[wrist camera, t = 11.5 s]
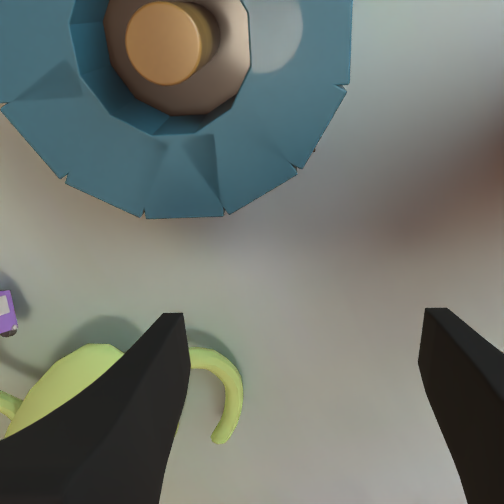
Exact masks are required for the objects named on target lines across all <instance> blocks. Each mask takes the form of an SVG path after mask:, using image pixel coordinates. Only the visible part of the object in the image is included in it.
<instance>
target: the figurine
mask: <svg viewBox="0 0 504 504" xmlns="http://www.w3.org/2000/svg"><path fill="white" fill-rule="evenodd" d="M17 328H18V324H17V320H16V315H15V310H14V306H13V301H12V297H11V292H10V290H6V291H0V335H1V336H2V337H9V336H13V335H14V334H15V333H16V332H17ZM189 354H190V361H191V369H195V368H200V369H207V370H209V371H210V372H212V373H213V374H215V375H216V376H217V377H218V378H219V379H220V380H221V381H222V382H223V384H224V386H225V395H226V399H225V406H224V411H223V414H222V417H221V420H220V422H219V423H218V425H217V426H216V428H215V430H214V431H213V433H212V435H211V439H212V442H214V443H216V444H223V443H225V442H226V441H227V440H228V439H229V438H230V436H231V435H232V433H233V431H234V429H235V428H236V426H237V424H238V420H239V417H240V414H241V410H242V402H243V387H242V379H241V376H240V374H239V372H238V370H237V368H236V367H235V366H234V365H233V364H232V363H231V362H230V361H229V360H228V359H227V358H226V357H224V356H223V355H221V354H220V353H218V352H216V351H215V350H213V349H207V348H200V347H190V348H189ZM123 355H124V353H123V352H121V351H120V350H118V349H117V348H115V347H113V346H112V345H110V344H86V345H84V346H82V347H81V348H79V349H77V350H76V351H74V352H72V353H70V354H69V355H67V356H65V357H64V358H62V359H60V360H58V361H57V362H55V364H54V365H53V366H52V367H51V368H50V369H49V370H48V371H47V372H46V373H45V374H44V375H43V377H42V378H41V379H40V380H39V381H38V382H37V383H36V384H35V385H34V386H33V387H32V388H31V390H30V391H29V392H28V394H27V396H26V397H25V399H24V401H22V400H20V399H18V398H16V397H14V396H12V395H9V394H7V393H5V392H3V391H1V390H0V412H1V413H3V414H4V415H6V416H7V417H8V418H9V419H10V420H11V423H10V425H9V426H8V429H7V432H6V435H5V437H4V439H5V438H7V437H9V436H11V435H13V434H14V433H16V432H18V431H20V430H22V429H24V428H25V427H27V426H29V425H31V424H32V423H34V422H36V421H38V420H39V419H41V418H43V417H44V416H46V415H47V414H49V413H50V412H52V411H53V410H55V409H56V408H58V407H59V406H61V405H63V404H64V403H66V402H67V401H69V400H70V399H72V398H73V397H74V396H76V395H77V394H78V393H80V392H81V391H82V390H84V389H85V388H86V387H88V386H89V385H90V384H92V383H93V382H94V381H95V380H96V379H98V378H99V377H100V376H101V375H102V374H104V373H105V372H106V371H107V370H108V369H109V368H110V367H111V366H112V365H113V364H114V363H115V362H117V361H118V360H119V359H120V358H121V357H122V356H123ZM178 427H179V423H178V426H177V430H176V433H177V431H178ZM176 433H175V435H176Z"/></svg>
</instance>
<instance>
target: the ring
mask: <svg viewBox="0 0 504 504" xmlns="http://www.w3.org/2000/svg"><path fill="white" fill-rule="evenodd" d="M240 1H241V3H242V5H243V7H244V8H245V10H246V12H247V16H248V34H249V52H250V67H249V69H248V72H247V74H246V76H245V78H244V80H243V82H242V84H241V87H240V89H239V91H238V93H237V94H236V95H234V96H233V97H231V98H230V99H229V100H227V101H226V102H224V103H223V104H221V105H220V106H218V107H217V108H215V109H214V110H213V111H211V112H210V113H208V114H205V115H185V116H169V115H167V114H165V113H163V112H161V111H159V110H157V109H155V108H153V107H151V106H149V105H147V104H145V103H143V102H141V101H139V100H137V99H135V97H134V96H133V95H132V93H131V92H130V91H129V89H128V88H127V86H126V85H125V84H124V82H123V81H122V80H121V78H120V77H119V76H118V74H117V73H116V72H115V70H114V69H113V67H112V66H111V63H110V58H109V53H108V47H107V42H106V37H105V31H104V26H103V19H104V16H105V12H106V9H107V6H108V3H109V0H0V103H7V104H5V105H4V106H3V107H2V108H1V109H0V111H1V112H2V113H3V114H4V115H5V117H6V118H7V119H8V120H9V121H10V122H11V124H12V125H13V126H14V127H15V128H16V129H17V130H18V132H19V133H20V134H21V135H22V136H23V137H24V139H25V140H26V141H27V142H28V143H29V144H30V145H31V147H32V148H33V149H34V150H35V151H36V152H37V154H38V155H39V156H40V157H41V158H42V159H43V160H44V162H45V163H46V164H47V165H48V166H49V167H50V169H51V170H52V171H53V172H54V173H55V174H56V175H57V177H58V178H59V179H62V178H63V177H64V176H66V175H67V174H68V175H67V178H66V182H65V183H66V184H67V185H69V186H72V187H74V188H76V189H78V190H80V191H82V192H85V193H87V194H89V195H91V196H93V197H96V198H98V199H100V200H102V201H104V202H106V203H109V204H111V205H113V206H115V207H117V208H119V209H122V210H124V211H126V212H128V213H130V214H132V215H135V216H137V217H139V218H140V217H141V216H142V215H143V213H144V212H145V217H146V219H167V218H198V217H223V216H224V213H225V210H226V212H227V213H228V214H229V215H230V214H232V213H234V212H235V211H237V210H239V209H240V208H242V207H244V206H245V205H247V204H249V203H250V202H252V201H254V200H255V199H257V198H259V197H261V196H262V195H264V194H266V193H267V192H269V191H271V190H272V189H274V188H276V187H277V186H279V185H281V184H282V183H284V182H286V181H287V180H289V179H291V178H292V177H294V176H296V175H297V167H298V168H300V169H303V168H304V166H305V164H306V162H307V161H308V159H309V157H310V155H311V154H312V152H313V150H314V148H315V147H316V145H317V143H318V142H319V140H320V138H321V136H322V135H323V133H324V131H325V129H326V128H327V126H328V124H329V123H330V121H331V119H332V117H333V116H334V114H335V112H336V110H337V109H338V107H339V105H340V104H341V102H342V100H343V98H344V97H345V95H346V93H347V91H346V90H345V89H344V87H343V86H342V85H348V84H349V83H350V59H351V32H352V6H353V0H240Z"/></svg>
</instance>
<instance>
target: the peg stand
mask: <svg viewBox="0 0 504 504" xmlns="http://www.w3.org/2000/svg"><path fill="white" fill-rule="evenodd" d="M103 26H104V31H105V37H106V42H107V47H108V53H109V58H110V63H111V66H112V67H113V69H114V70H115V72H116V73H117V74H118V76H119V77H120V78H121V80H122V81H123V82H124V84H125V85H126V86H127V88H128V89H129V91H130V92H131V93H132V95H133V96H134V97H135V99H137V100H139V101H141V102H143V103H145V104H147V105H149V106H151V107H153V108H155V109H157V110H159V111H161V112H163V113H165V114H167V115H169V116H185V115H205V114H208V113H210V112H211V111H213V110H214V109H215V108H217V107H218V106H220V105H221V104H223V103H224V102H226V101H227V100H229V99H230V98H231V97H233V96H234V95H236V94H237V93H238V91H239V89H240V87H241V84H242V82H243V80H244V78H245V76H246V74H247V72H248V69H249V67H250V52H249V34H248V16H247V12H246V10H245V8H244V7H243V5H242V3H241V1H240V0H109V3H108V6H107V9H106V12H105V16H104V19H103ZM313 152H315V148H314V150H313Z"/></svg>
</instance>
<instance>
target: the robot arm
mask: <svg viewBox="0 0 504 504" xmlns="http://www.w3.org/2000/svg"><path fill="white" fill-rule="evenodd" d="M418 365H419V369H420V373H421V377H422V381H423V385H424V388H425V392H426V395H427V397H428V400H429V402H430V405H431V407H432V410H433V412H434V415H435V417H436V419H437V422H438V424H439V427H440V429H441V431H442V434H443V436H444V439H445V441H446V443H447V446H448V448H449V451H450V453H451V455H452V458H453V460H454V463H455V465H456V468H457V471H458V474H459V476H460V479H461V483H462V486H463V489H464V493H465V496H466V499H467V503H468V504H504V354H503V353H502V352H501V351H499V350H498V349H497V348H496V347H494V346H493V345H492V344H491V343H489V342H488V341H487V340H485V339H484V338H483V337H482V336H481V335H479V334H478V333H477V332H476V331H474V330H473V329H472V328H471V327H470V326H468V325H467V324H466V323H465V322H464V321H462V320H461V319H460V318H459V317H458V316H456V315H455V314H454V313H453V312H452V311H450V310H449V309H448V308H425V313H424V321H423V328H422V335H421V343H420V350H419V357H418ZM190 369H191V361H190V354H189V348H188V342H187V335H186V329H185V323H184V316H183V313H163V314H162V315H161V316H160V317H159V318H158V319H157V320H156V321H155V322H154V323H153V324H152V326H151V327H150V328H149V329H148V330H147V331H146V332H145V333H144V334H143V335H142V336H141V337H140V338H139V340H138V341H137V342H136V343H135V344H134V345H133V346H132V347H131V348H130V349H129V350H128V351H127V352H126V353H125V354H124V355H123V356H122V357H121V358H120V359H119V360H118V361H117V362H115V363H114V364H113V365H112V366H111V367H110V368H109V369H108V370H107V371H106V372H105V373H104V374H102V375H101V376H100V377H99V378H98V379H96V380H95V381H94V382H93V383H92V384H90V385H89V386H88V387H86V388H85V389H84V390H82V391H81V392H80V393H78V394H77V395H76V396H74V397H73V398H72V399H70V400H69V401H67V402H66V403H64V404H63V405H61V406H59V407H58V408H56V409H55V410H53V411H52V412H50V413H49V414H47V415H46V416H44V417H43V418H41V419H39V420H38V421H36V422H34V423H32V424H31V425H29V426H27V427H25V428H24V429H22V430H20V431H18V432H16V433H14V434H13V435H11V436H9V437H7V438H5V439H3V440H1V441H0V504H159V500H160V494H161V489H162V483H163V478H164V473H165V469H166V465H167V461H168V457H169V454H170V450H171V447H172V444H173V440H174V437H175V433H176V430H177V426H178V423H179V420H180V416H181V413H182V409H183V406H184V402H185V398H186V395H187V389H188V383H189V376H190Z"/></svg>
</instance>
